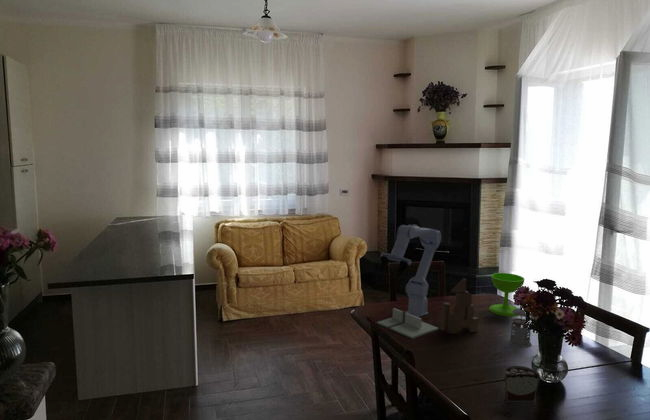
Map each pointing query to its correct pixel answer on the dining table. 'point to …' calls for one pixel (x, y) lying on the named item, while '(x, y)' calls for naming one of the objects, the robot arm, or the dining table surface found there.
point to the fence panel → (413, 320)
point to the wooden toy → (459, 311)
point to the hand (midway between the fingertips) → (389, 274)
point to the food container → (520, 384)
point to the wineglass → (507, 285)
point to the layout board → (407, 328)
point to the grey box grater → (520, 331)
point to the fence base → (399, 315)
